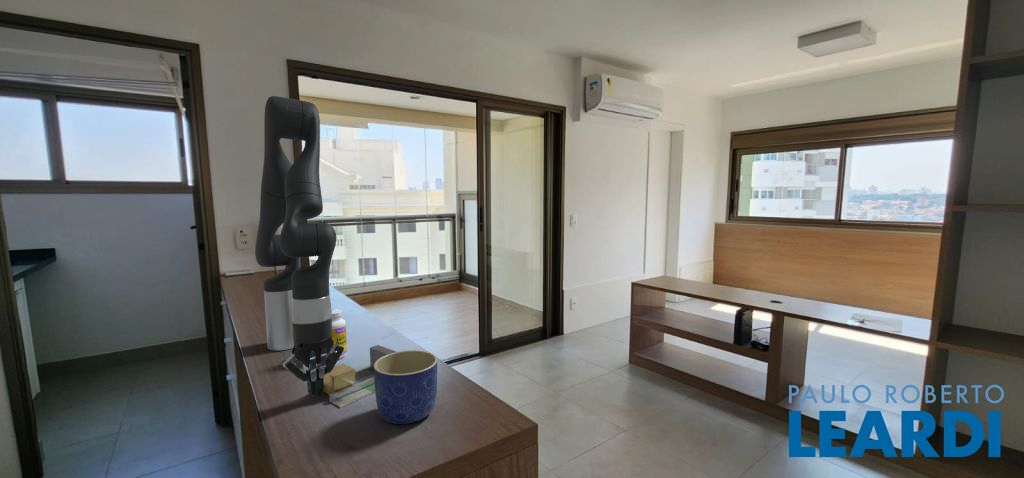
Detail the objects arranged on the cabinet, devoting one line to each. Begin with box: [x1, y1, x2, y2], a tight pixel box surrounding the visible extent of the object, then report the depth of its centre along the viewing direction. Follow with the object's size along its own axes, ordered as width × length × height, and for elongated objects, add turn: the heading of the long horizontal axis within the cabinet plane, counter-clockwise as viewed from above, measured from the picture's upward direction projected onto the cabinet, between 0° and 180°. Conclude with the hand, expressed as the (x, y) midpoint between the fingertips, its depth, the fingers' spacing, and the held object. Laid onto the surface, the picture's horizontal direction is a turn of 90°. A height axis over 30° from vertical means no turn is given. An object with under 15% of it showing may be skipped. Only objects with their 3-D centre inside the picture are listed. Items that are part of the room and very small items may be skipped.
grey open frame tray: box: [328, 344, 397, 408], centre depth 93 cm, size 11×17×6 cm, turn 143°
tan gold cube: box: [322, 363, 356, 395], centre depth 89 cm, size 8×5×5 cm, turn 53°
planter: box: [373, 349, 438, 425], centre depth 81 cm, size 12×12×11 cm
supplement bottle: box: [327, 308, 348, 360], centre depth 110 cm, size 7×7×13 cm
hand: (315, 394), depth 86 cm, fingers closed
